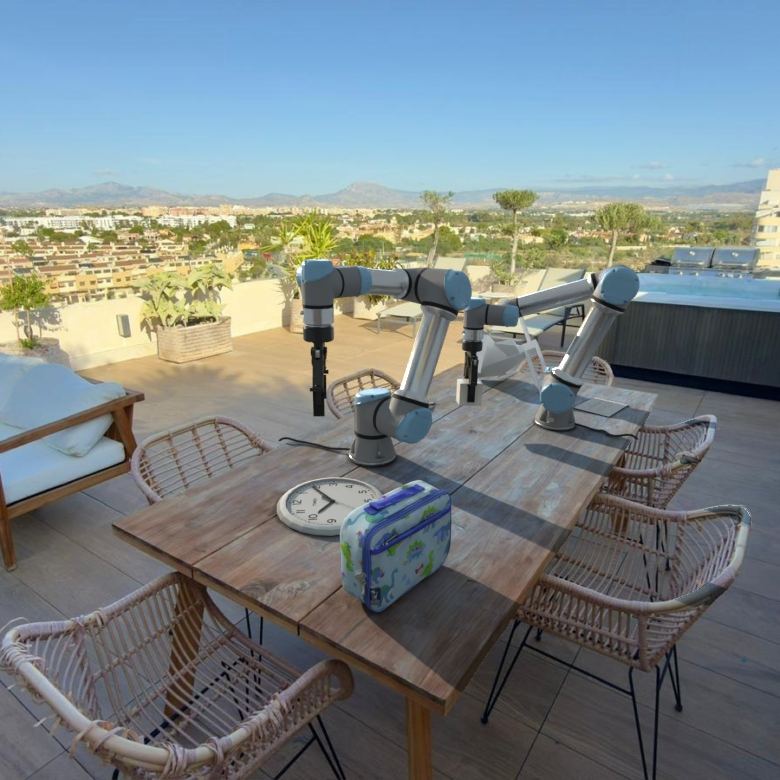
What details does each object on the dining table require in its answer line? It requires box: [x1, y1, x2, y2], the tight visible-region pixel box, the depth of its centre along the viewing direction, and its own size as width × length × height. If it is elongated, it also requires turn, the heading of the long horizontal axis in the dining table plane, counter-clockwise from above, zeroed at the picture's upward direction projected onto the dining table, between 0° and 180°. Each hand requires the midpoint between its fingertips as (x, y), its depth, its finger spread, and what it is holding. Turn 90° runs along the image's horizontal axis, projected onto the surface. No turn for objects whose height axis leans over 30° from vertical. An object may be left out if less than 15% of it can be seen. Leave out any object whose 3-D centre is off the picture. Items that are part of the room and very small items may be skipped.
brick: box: [455, 378, 484, 407], centre depth 199 cm, size 8×6×9 cm
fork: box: [428, 395, 437, 406], centre depth 223 cm, size 3×16×2 cm, turn 160°
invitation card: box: [573, 396, 629, 418], centre depth 226 cm, size 21×1×15 cm
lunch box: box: [339, 479, 452, 613], centre depth 109 cm, size 26×11×21 cm, turn 134°
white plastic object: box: [476, 316, 547, 392], centre depth 256 cm, size 37×45×31 cm
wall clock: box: [276, 476, 385, 537], centre depth 142 cm, size 30×2×30 cm
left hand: (320, 406), depth 134 cm, fingers open, 13 cm apart
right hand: (468, 398), depth 200 cm, fingers closed on brick, 6 cm apart
